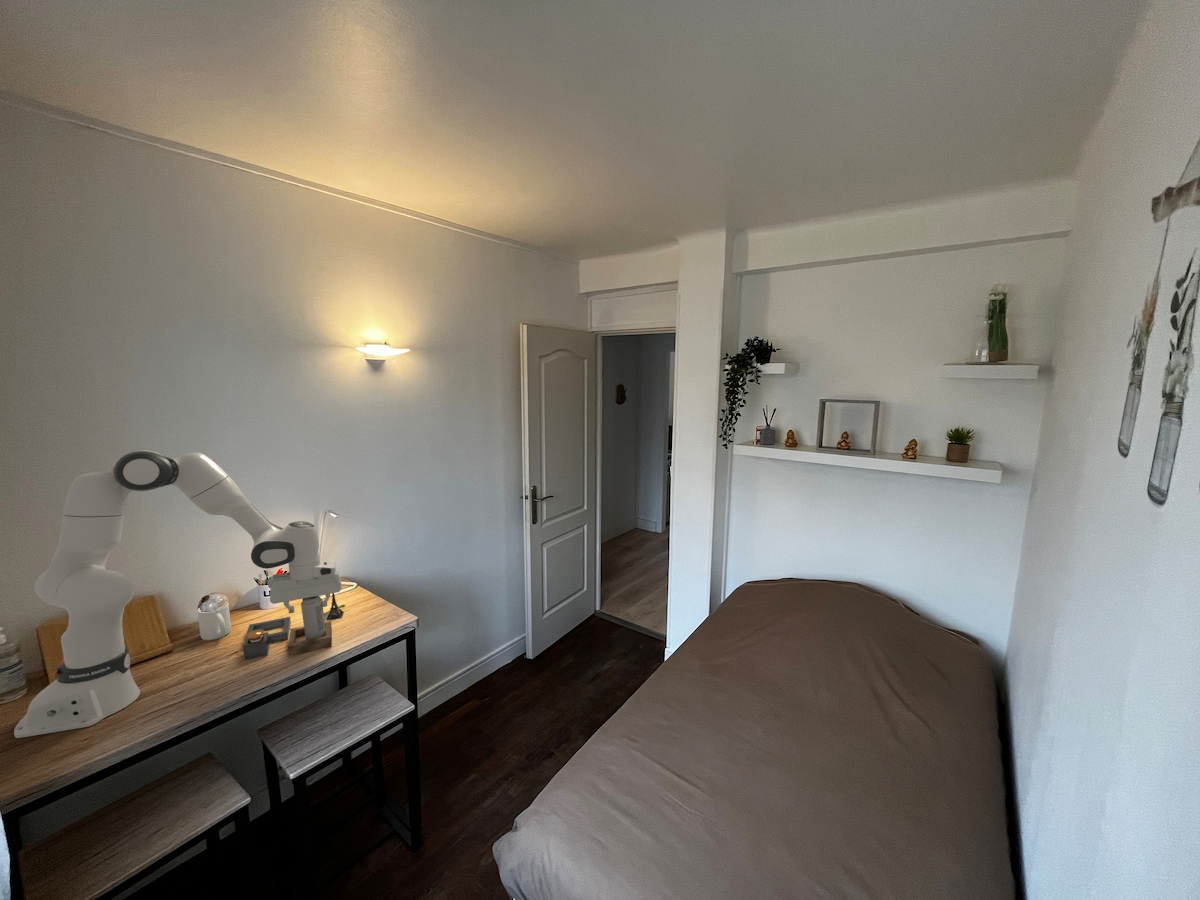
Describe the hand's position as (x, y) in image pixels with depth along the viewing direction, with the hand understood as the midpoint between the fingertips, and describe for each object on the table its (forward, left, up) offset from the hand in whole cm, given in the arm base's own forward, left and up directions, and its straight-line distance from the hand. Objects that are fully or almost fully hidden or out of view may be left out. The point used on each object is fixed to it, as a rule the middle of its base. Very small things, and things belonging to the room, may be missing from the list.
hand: (308, 609), depth 157 cm
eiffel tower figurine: (+7, +17, -13) cm, 22 cm away
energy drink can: (+2, 0, -11) cm, 11 cm away
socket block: (-13, +8, -12) cm, 19 cm away
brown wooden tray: (0, 0, -12) cm, 12 cm away
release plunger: (-15, +1, -11) cm, 19 cm away
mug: (-28, +19, -12) cm, 36 cm away
